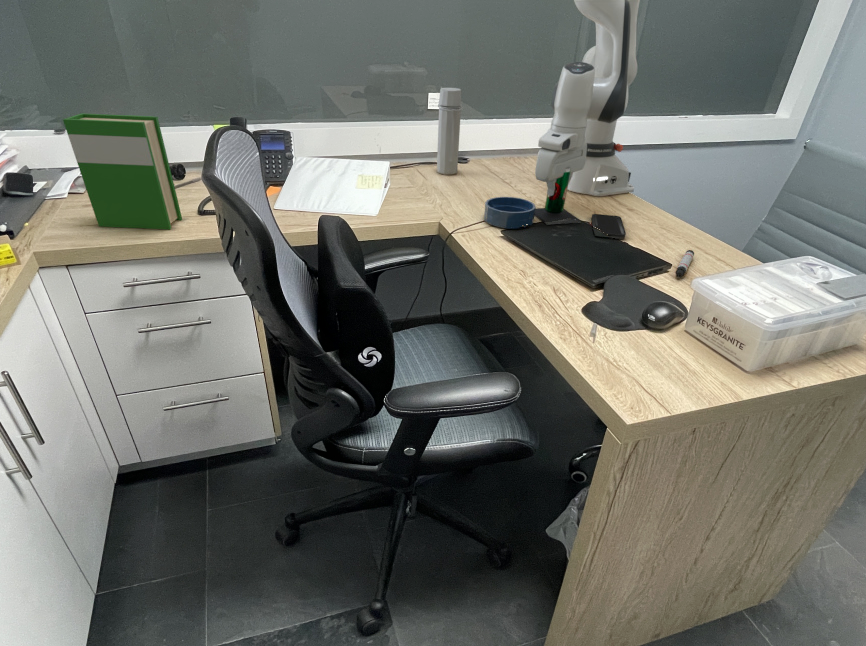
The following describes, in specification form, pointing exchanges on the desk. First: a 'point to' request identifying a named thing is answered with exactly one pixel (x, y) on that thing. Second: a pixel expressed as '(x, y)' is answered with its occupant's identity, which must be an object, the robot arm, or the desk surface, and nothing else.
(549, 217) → the black flat square pad
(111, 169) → the hardback book
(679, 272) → the marker
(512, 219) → the dish
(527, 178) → the desk surface
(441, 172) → the water bottle
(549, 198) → the soda can
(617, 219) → the phone
